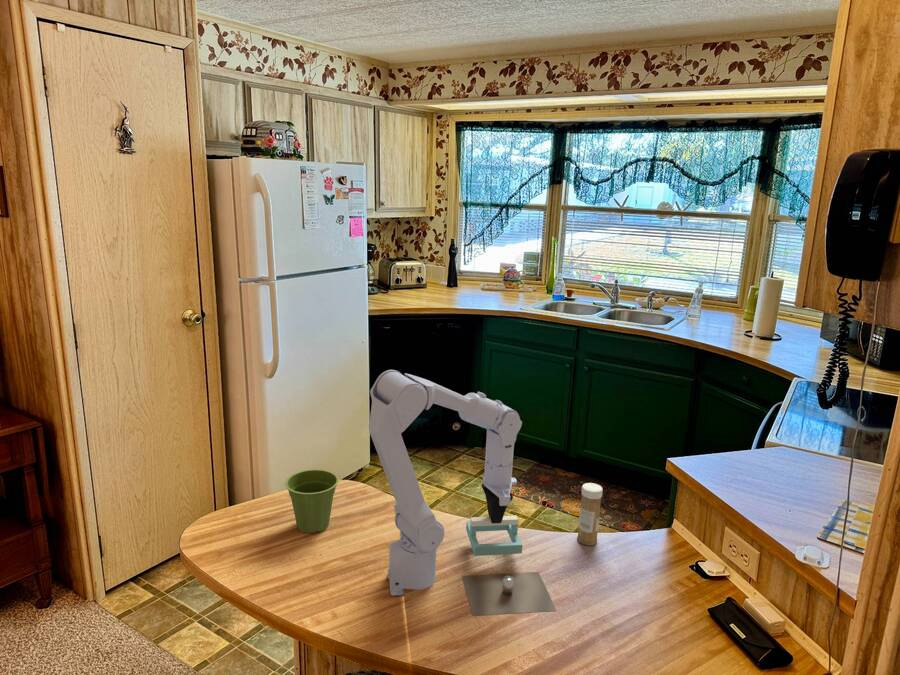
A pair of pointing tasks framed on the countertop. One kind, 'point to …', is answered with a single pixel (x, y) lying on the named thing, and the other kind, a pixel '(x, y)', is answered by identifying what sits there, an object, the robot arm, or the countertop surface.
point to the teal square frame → (485, 525)
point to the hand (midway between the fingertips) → (495, 519)
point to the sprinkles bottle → (589, 513)
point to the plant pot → (312, 498)
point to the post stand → (507, 593)
